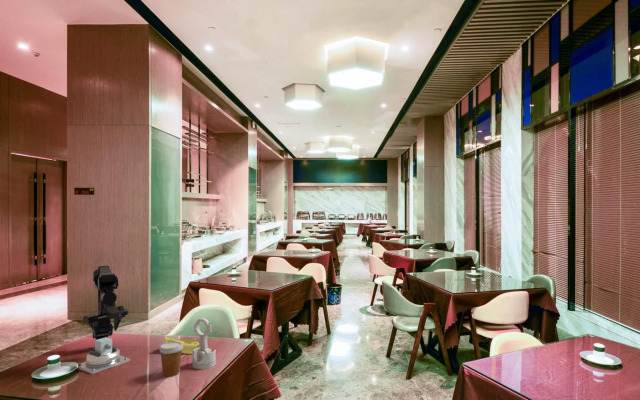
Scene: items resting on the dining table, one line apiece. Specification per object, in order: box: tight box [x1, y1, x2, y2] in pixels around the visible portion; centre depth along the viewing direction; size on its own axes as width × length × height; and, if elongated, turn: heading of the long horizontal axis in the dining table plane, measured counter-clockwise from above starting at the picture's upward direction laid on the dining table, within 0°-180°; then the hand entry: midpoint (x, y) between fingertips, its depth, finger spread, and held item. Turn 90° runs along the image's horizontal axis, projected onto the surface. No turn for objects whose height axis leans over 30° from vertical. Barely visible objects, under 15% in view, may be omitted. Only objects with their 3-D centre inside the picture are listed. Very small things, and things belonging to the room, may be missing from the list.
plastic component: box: [163, 335, 200, 355], centre depth 185 cm, size 20×7×10 cm
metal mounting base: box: [77, 346, 131, 375], centre depth 167 cm, size 14×17×6 cm
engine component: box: [191, 317, 217, 370], centre depth 166 cm, size 11×20×10 cm
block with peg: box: [94, 337, 113, 356], centre depth 167 cm, size 7×5×6 cm
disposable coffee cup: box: [158, 342, 183, 377], centre depth 156 cm, size 10×10×12 cm
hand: (105, 333), depth 175 cm, fingers open, 9 cm apart
